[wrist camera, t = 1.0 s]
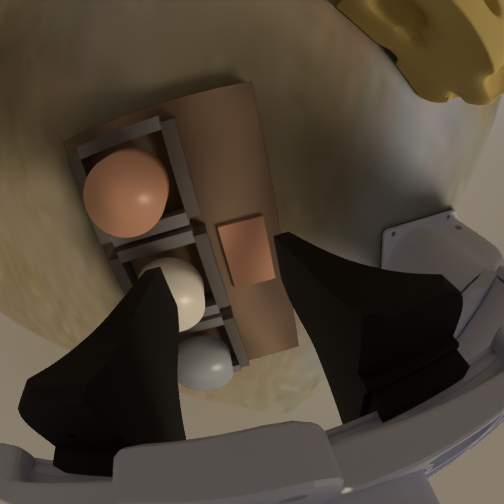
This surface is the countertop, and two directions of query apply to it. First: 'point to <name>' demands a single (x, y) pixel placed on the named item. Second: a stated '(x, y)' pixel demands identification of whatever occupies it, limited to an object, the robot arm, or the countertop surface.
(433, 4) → the cheese
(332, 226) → the countertop surface
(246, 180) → the button panel
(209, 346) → the slate button
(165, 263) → the cream button
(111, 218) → the terracotta button
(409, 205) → the countertop surface
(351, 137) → the countertop surface
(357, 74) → the countertop surface
